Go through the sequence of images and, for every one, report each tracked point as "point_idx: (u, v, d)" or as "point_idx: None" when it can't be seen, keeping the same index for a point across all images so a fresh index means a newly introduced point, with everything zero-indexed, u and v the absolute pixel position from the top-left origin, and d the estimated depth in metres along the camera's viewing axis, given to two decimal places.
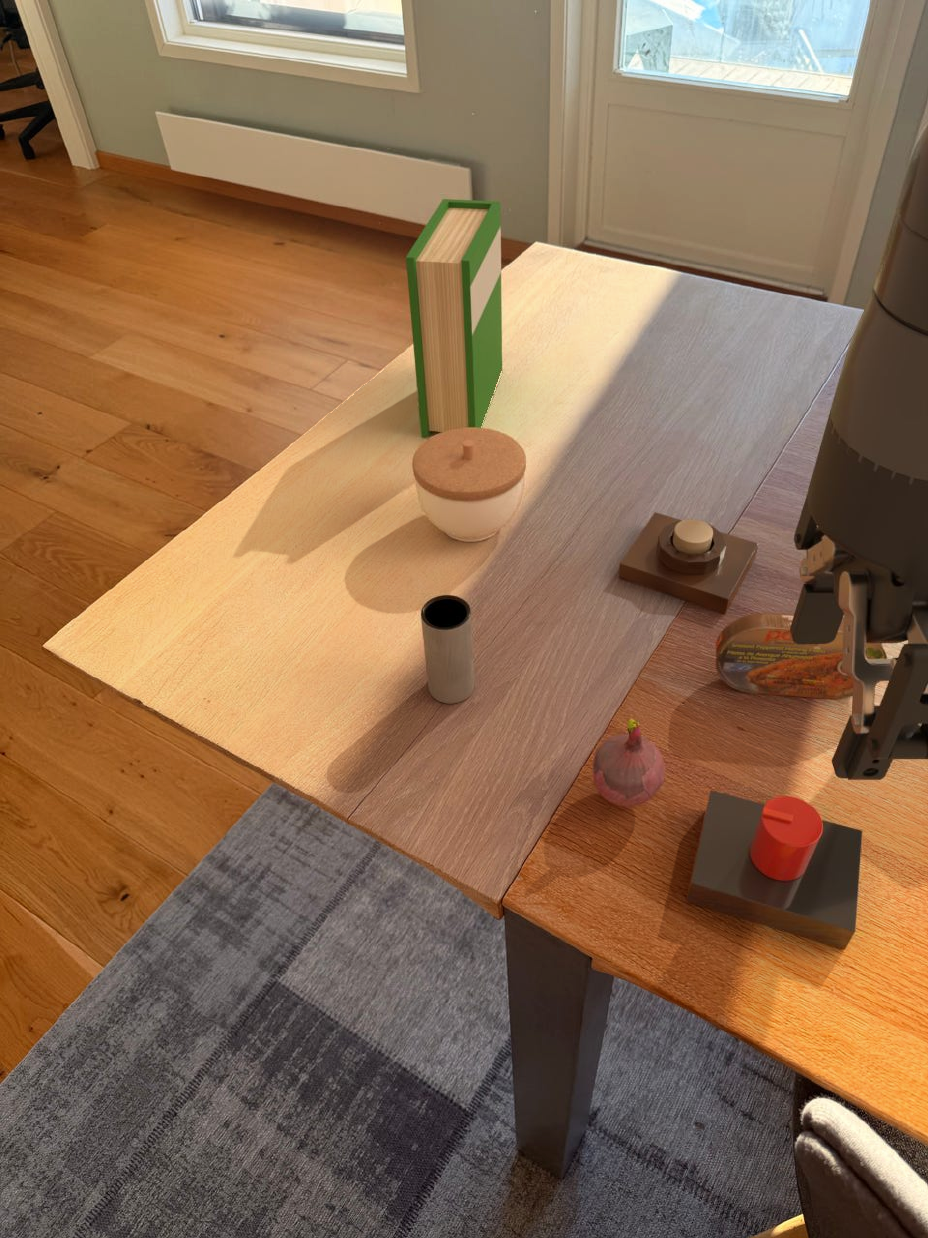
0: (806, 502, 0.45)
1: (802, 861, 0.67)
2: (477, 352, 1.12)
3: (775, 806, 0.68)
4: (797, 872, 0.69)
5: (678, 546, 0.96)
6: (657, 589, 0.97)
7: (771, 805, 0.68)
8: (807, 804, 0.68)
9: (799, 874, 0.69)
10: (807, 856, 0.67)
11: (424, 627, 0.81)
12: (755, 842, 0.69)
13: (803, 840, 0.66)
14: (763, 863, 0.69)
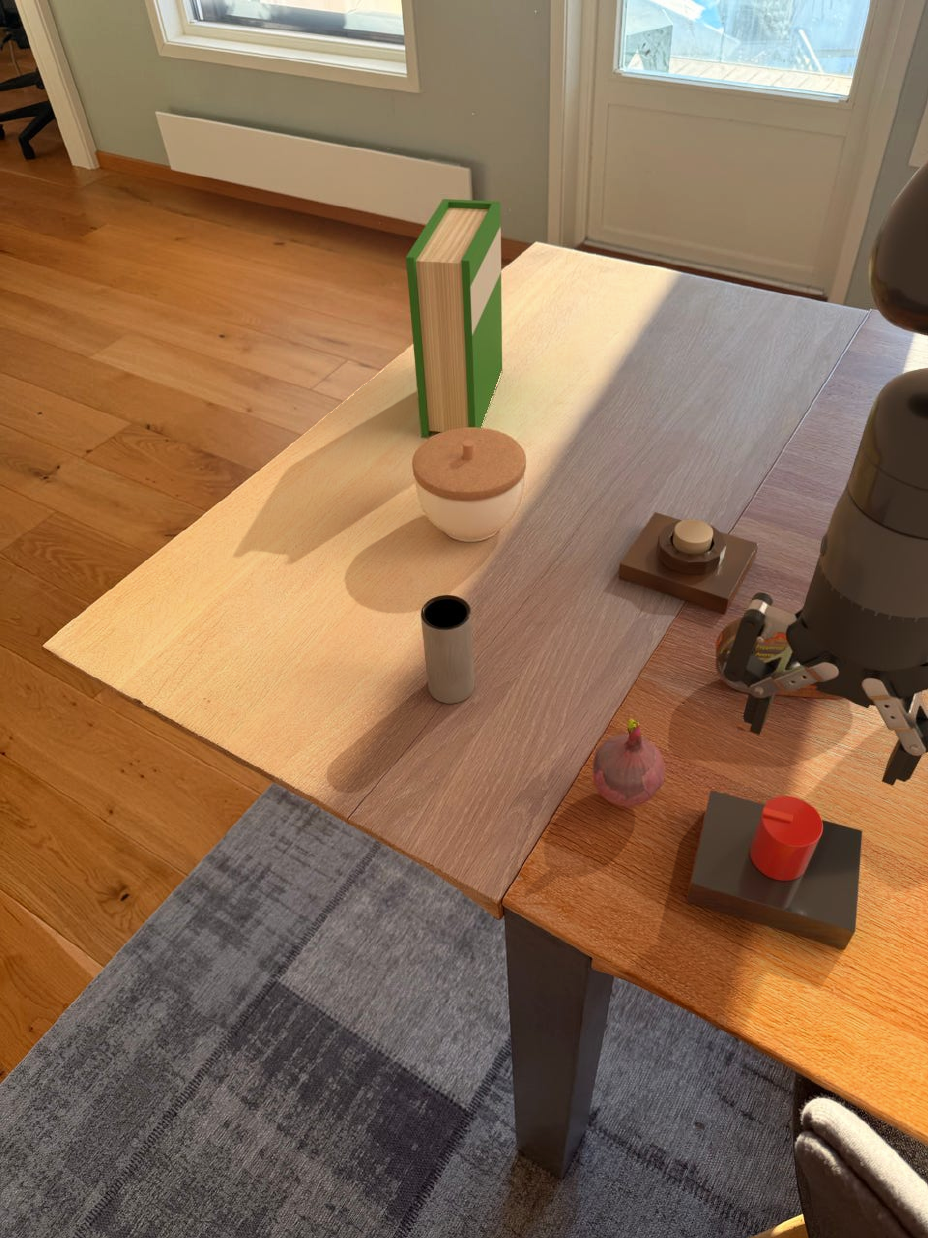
0: (734, 651, 0.57)
1: (802, 861, 0.67)
2: (477, 352, 1.12)
3: (775, 806, 0.68)
4: (797, 872, 0.69)
5: (678, 546, 0.96)
6: (657, 589, 0.97)
7: (771, 805, 0.68)
8: (807, 804, 0.68)
9: (799, 874, 0.69)
10: (807, 856, 0.67)
11: (424, 627, 0.81)
12: (755, 842, 0.69)
13: (803, 840, 0.66)
14: (763, 863, 0.69)
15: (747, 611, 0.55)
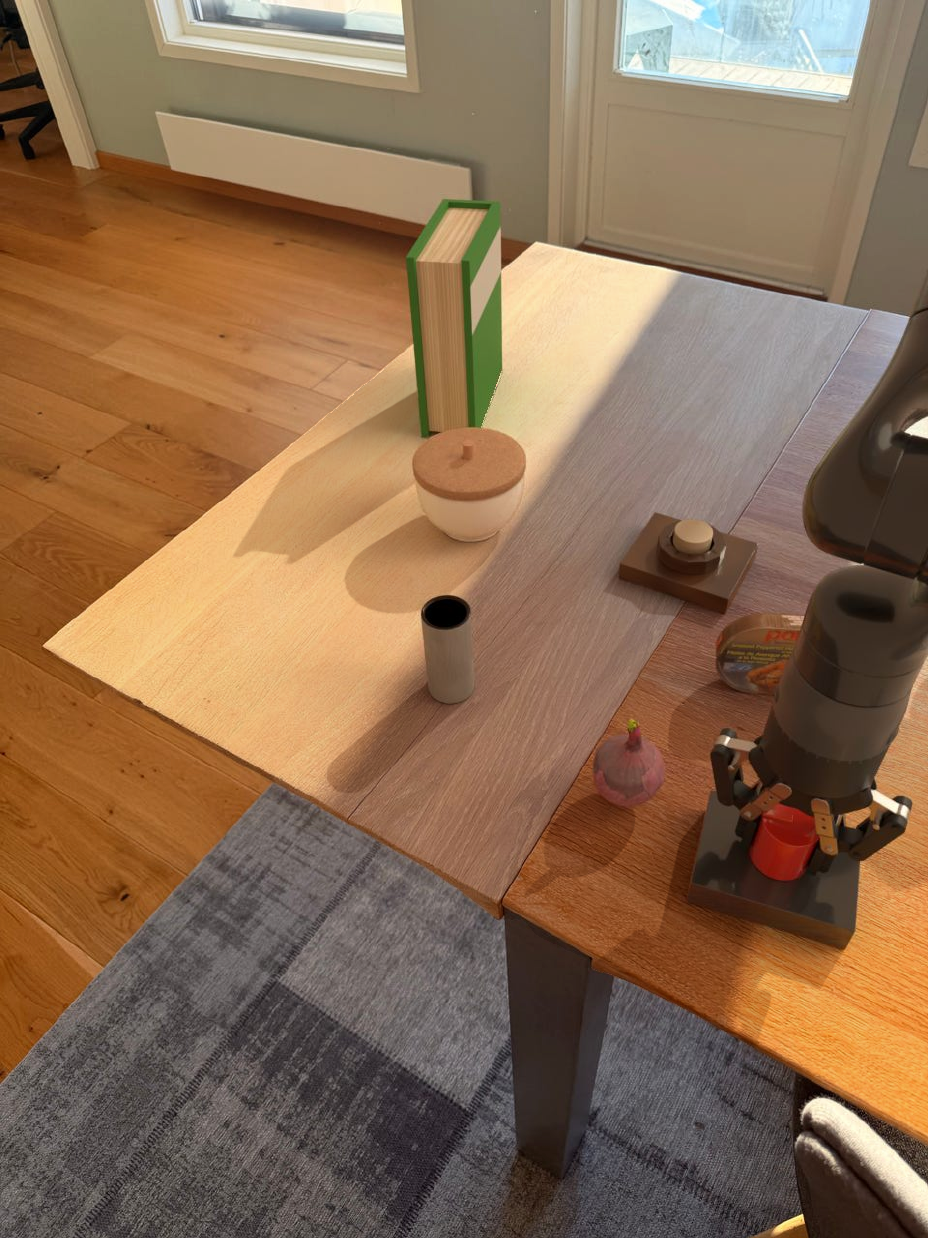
0: (717, 781, 0.67)
1: (802, 861, 0.67)
2: (477, 352, 1.12)
3: (775, 806, 0.68)
4: (797, 872, 0.69)
5: (678, 546, 0.96)
6: (657, 589, 0.97)
7: None
8: None
9: (799, 874, 0.69)
10: (807, 856, 0.67)
11: (424, 627, 0.81)
12: (755, 842, 0.69)
13: (803, 840, 0.66)
14: (763, 863, 0.69)
15: (713, 747, 0.66)
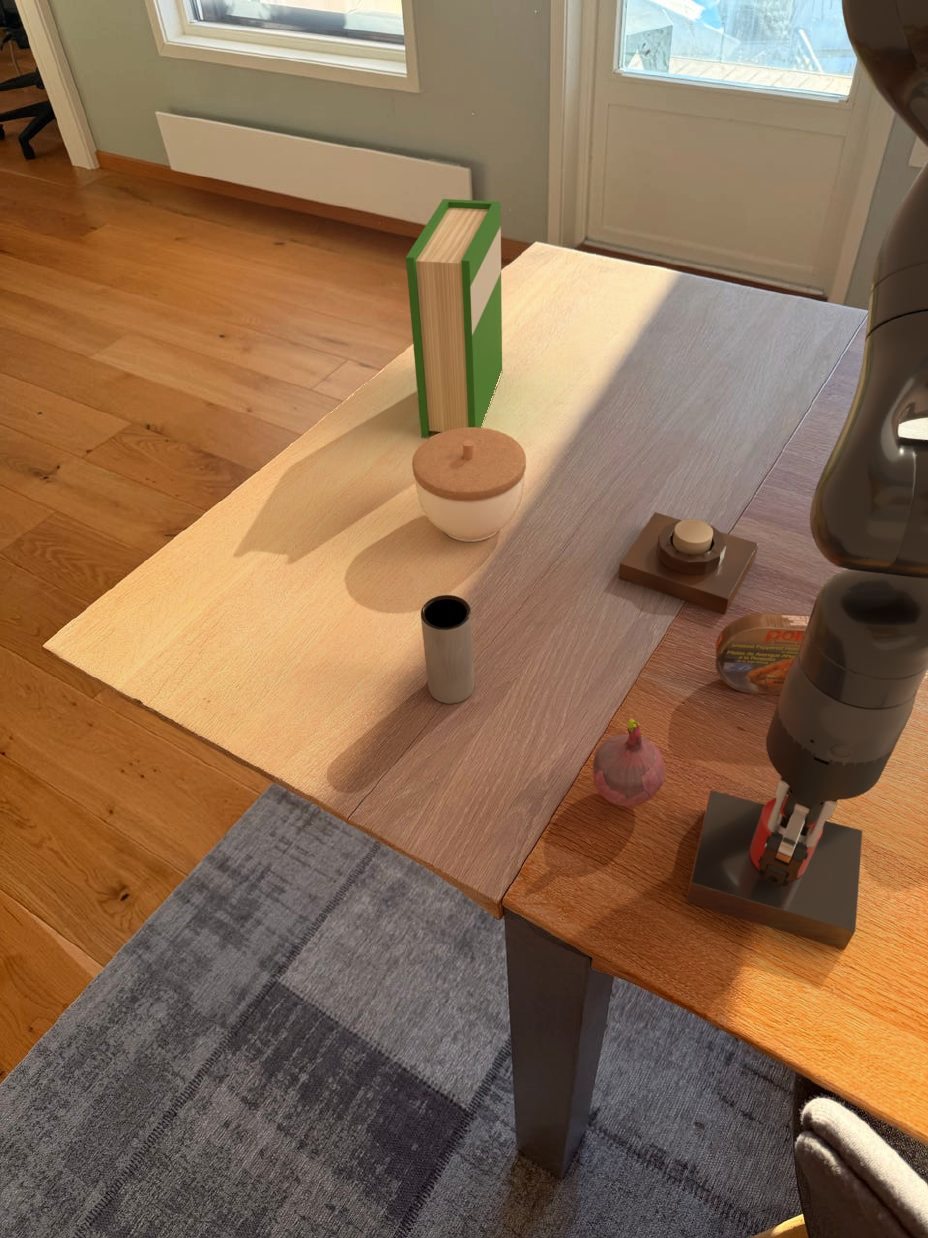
0: (797, 872, 0.61)
1: None
2: (477, 352, 1.12)
3: None
4: None
5: (678, 546, 0.96)
6: (657, 589, 0.97)
7: None
8: (767, 805, 0.68)
9: None
10: None
11: (424, 627, 0.81)
12: None
13: None
14: (807, 865, 0.69)
15: (794, 856, 0.59)
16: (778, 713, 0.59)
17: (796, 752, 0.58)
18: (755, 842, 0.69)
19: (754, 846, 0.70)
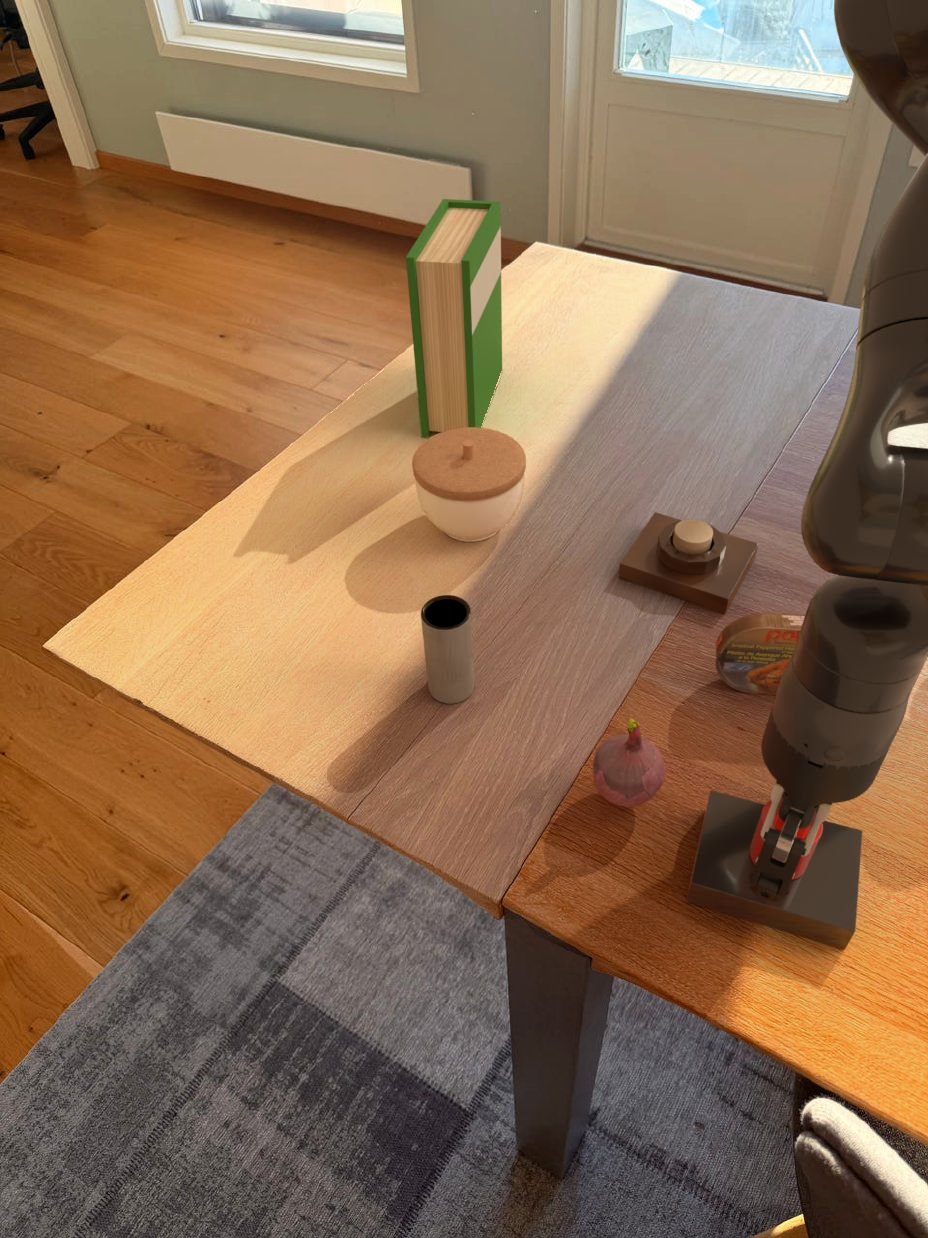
0: (791, 878, 0.61)
1: None
2: (477, 352, 1.12)
3: None
4: None
5: (678, 546, 0.96)
6: (657, 589, 0.97)
7: None
8: (767, 805, 0.68)
9: None
10: None
11: (424, 627, 0.81)
12: None
13: None
14: (807, 865, 0.69)
15: (793, 849, 0.59)
16: (773, 717, 0.59)
17: (790, 756, 0.58)
18: (755, 842, 0.69)
19: (754, 846, 0.70)
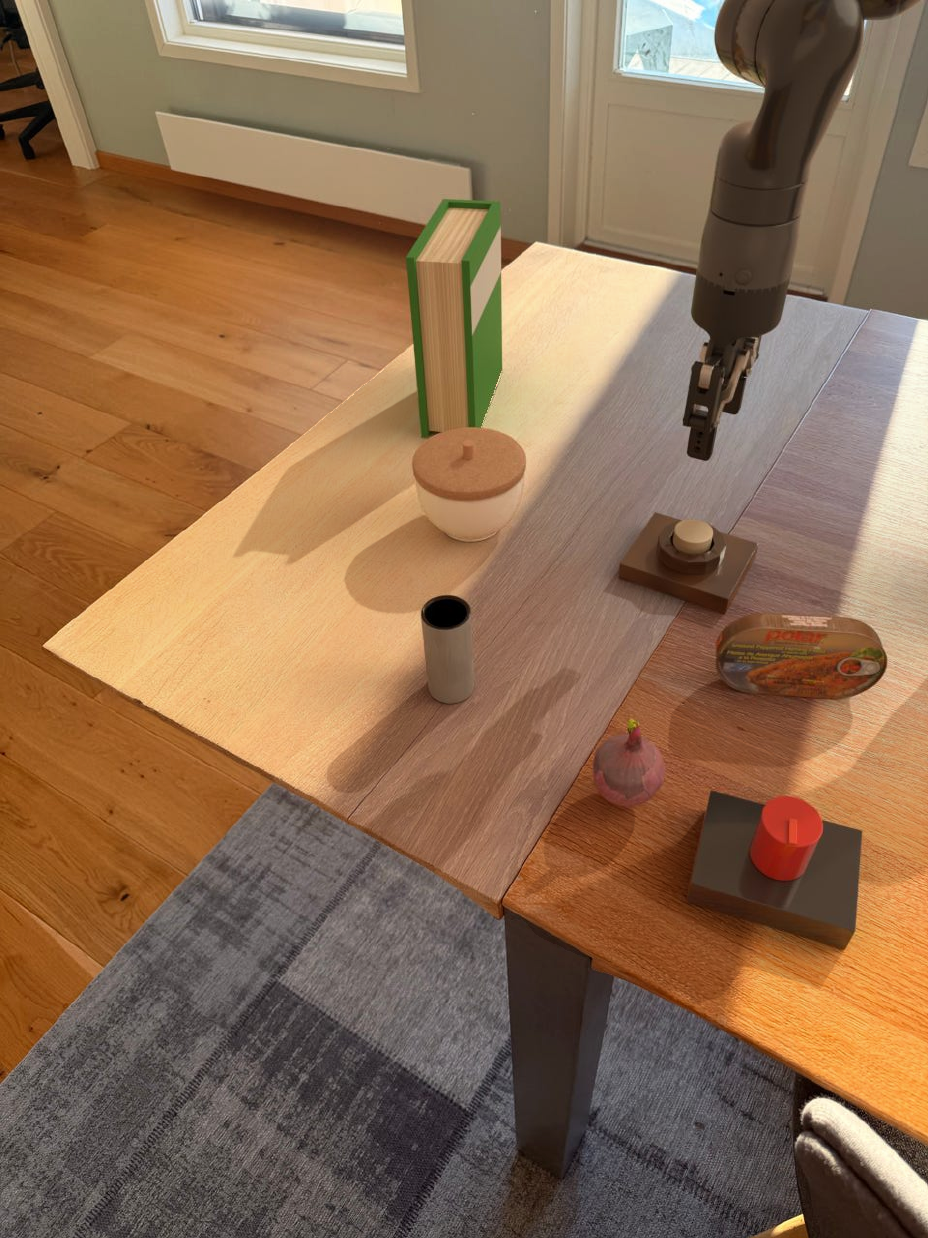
0: (715, 405, 0.76)
1: None
2: (477, 352, 1.12)
3: (779, 833, 0.67)
4: None
5: (678, 546, 0.96)
6: (657, 589, 0.97)
7: (779, 836, 0.66)
8: (767, 805, 0.68)
9: None
10: None
11: (424, 627, 0.81)
12: (794, 866, 0.68)
13: (812, 813, 0.68)
14: (807, 865, 0.69)
15: (714, 370, 0.74)
16: (697, 270, 0.75)
17: (710, 293, 0.74)
18: (755, 842, 0.69)
19: (754, 846, 0.70)
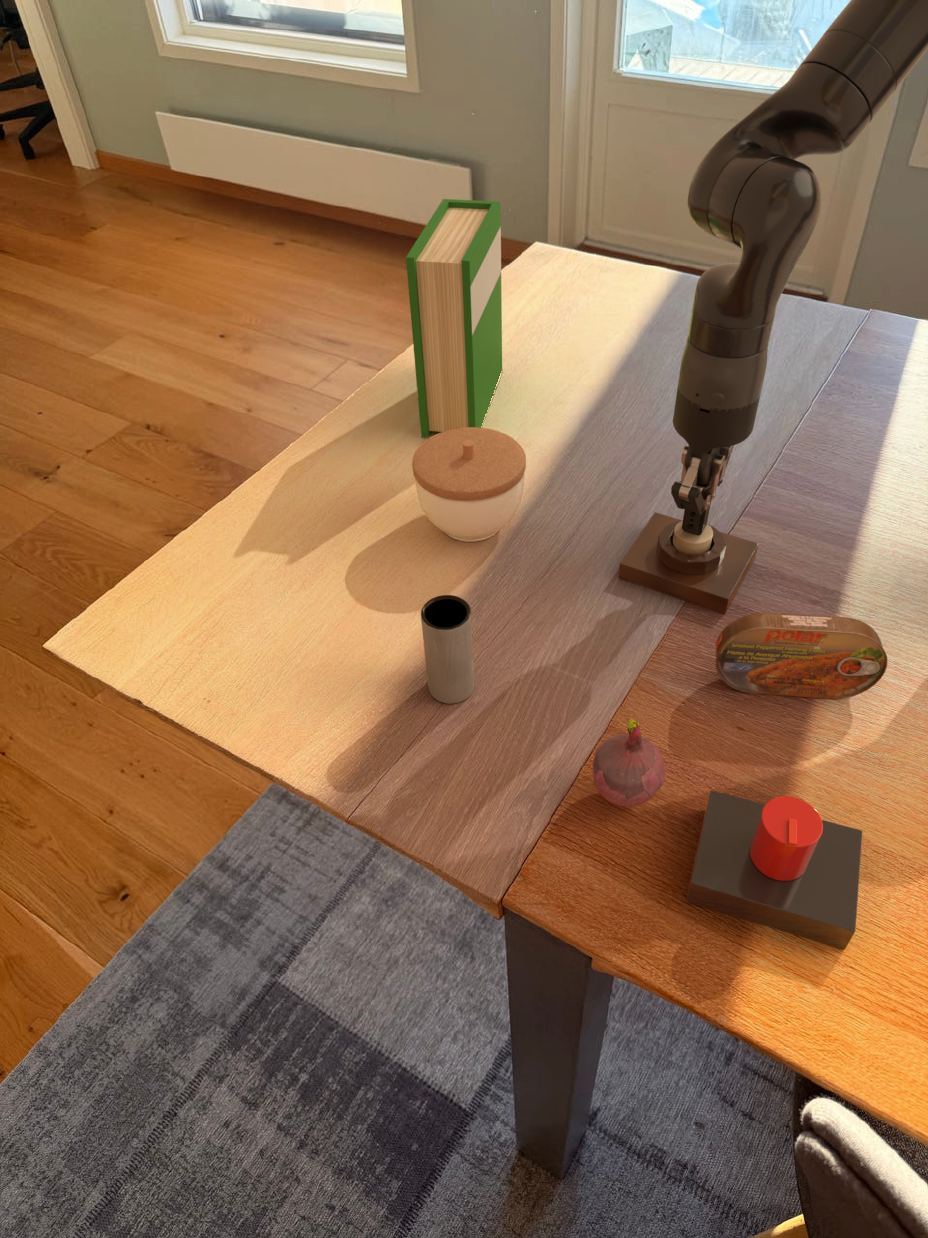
0: (699, 506, 0.88)
1: None
2: (477, 352, 1.12)
3: (779, 833, 0.67)
4: None
5: (678, 546, 0.96)
6: (657, 589, 0.97)
7: (779, 836, 0.66)
8: (767, 805, 0.68)
9: None
10: None
11: (424, 627, 0.81)
12: (794, 866, 0.68)
13: (812, 813, 0.68)
14: (807, 865, 0.69)
15: (689, 496, 0.86)
16: (678, 386, 0.84)
17: (688, 409, 0.83)
18: (755, 842, 0.69)
19: (754, 846, 0.70)
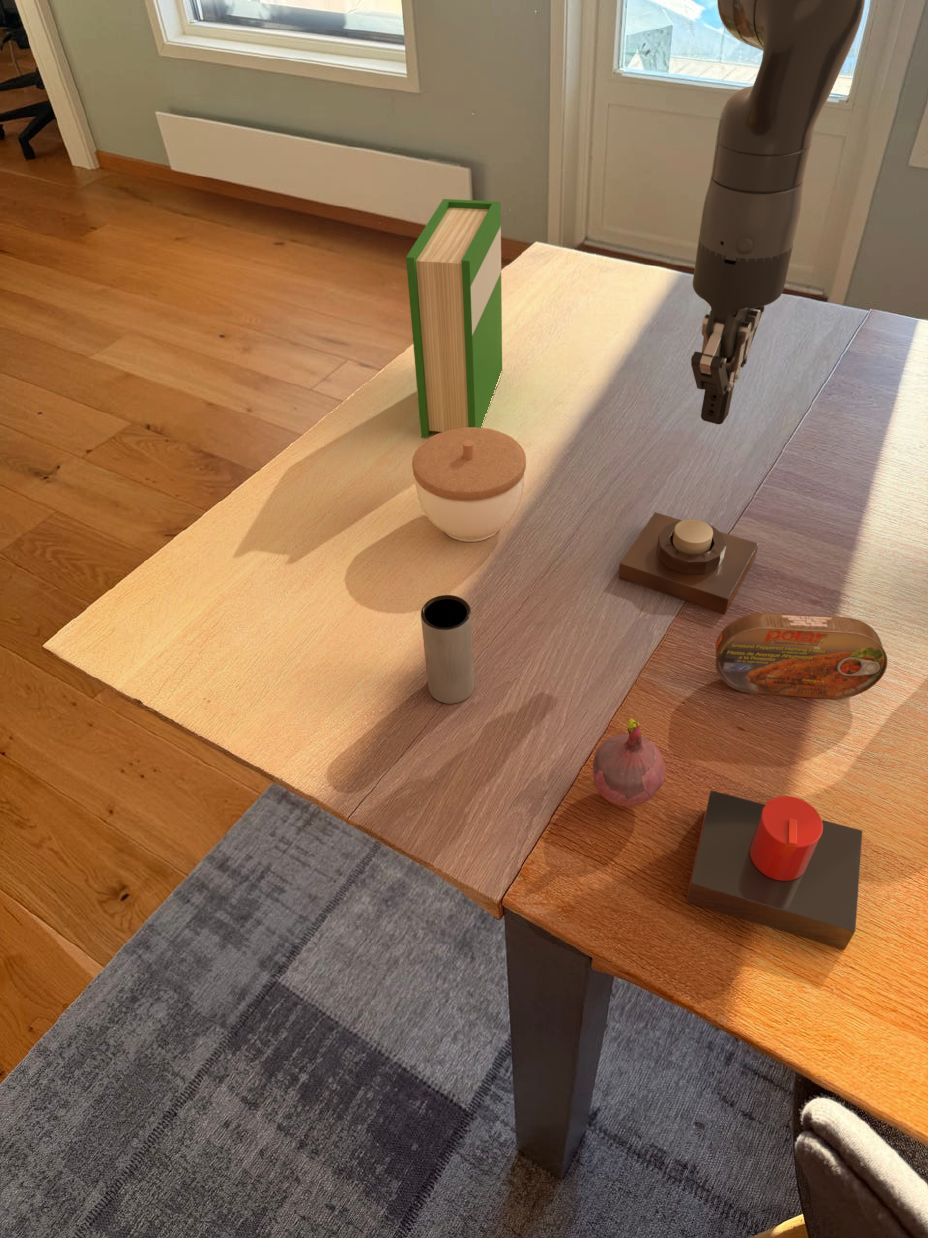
0: (722, 382, 0.79)
1: None
2: (477, 352, 1.12)
3: (779, 833, 0.67)
4: None
5: (678, 546, 0.96)
6: (657, 589, 0.97)
7: (779, 836, 0.66)
8: (767, 805, 0.68)
9: None
10: None
11: (424, 627, 0.81)
12: (794, 866, 0.68)
13: (812, 813, 0.68)
14: (807, 865, 0.69)
15: (712, 366, 0.76)
16: (699, 239, 0.74)
17: (711, 262, 0.73)
18: (755, 842, 0.69)
19: (754, 846, 0.70)
